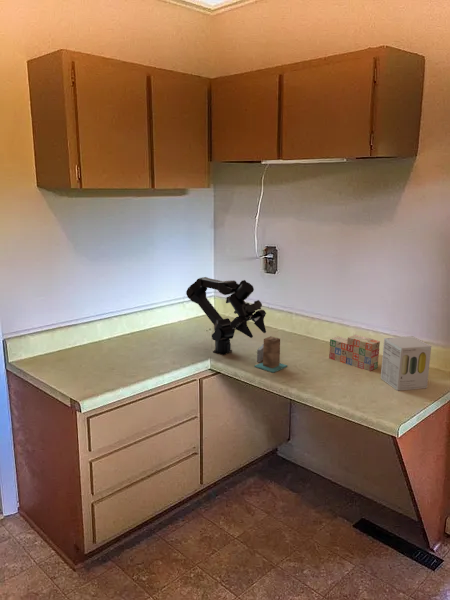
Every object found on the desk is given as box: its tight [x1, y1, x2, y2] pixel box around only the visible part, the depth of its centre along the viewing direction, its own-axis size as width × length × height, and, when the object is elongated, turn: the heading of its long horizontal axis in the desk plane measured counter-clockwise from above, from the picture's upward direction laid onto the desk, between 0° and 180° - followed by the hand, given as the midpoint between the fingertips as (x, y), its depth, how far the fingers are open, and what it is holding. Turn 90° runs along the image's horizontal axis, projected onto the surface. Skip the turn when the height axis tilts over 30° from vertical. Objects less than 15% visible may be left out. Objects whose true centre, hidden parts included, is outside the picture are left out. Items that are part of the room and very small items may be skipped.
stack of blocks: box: [328, 334, 381, 372], centre depth 237 cm, size 21×6×12 cm, turn 43°
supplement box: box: [380, 335, 432, 391], centre depth 214 cm, size 13×13×18 cm
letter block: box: [262, 335, 281, 368], centre depth 231 cm, size 5×5×12 cm
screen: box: [256, 343, 264, 363], centre depth 243 cm, size 2×13×6 cm, turn 159°
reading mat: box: [254, 361, 288, 374], centre depth 232 cm, size 10×10×1 cm
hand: (258, 335), depth 233 cm, fingers open, 9 cm apart
